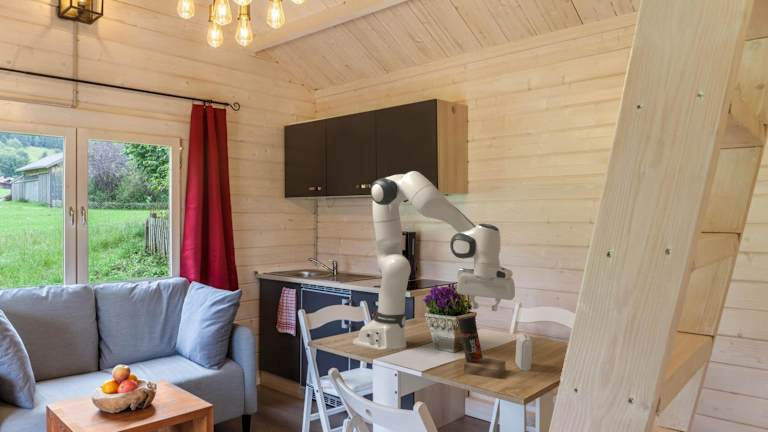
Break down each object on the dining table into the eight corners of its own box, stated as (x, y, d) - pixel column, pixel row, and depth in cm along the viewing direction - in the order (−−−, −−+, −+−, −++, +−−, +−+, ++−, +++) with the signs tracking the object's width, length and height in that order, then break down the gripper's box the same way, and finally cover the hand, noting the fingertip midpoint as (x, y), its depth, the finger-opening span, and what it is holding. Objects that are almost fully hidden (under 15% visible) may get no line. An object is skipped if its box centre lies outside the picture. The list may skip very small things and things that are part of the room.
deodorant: (471, 362, 203) (463, 319, 204) (463, 360, 208) (454, 319, 209) (485, 358, 205) (477, 316, 206) (476, 356, 211) (468, 315, 212)
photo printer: (513, 362, 219) (515, 330, 219) (525, 363, 219) (527, 330, 219) (519, 371, 209) (522, 337, 208) (531, 371, 209) (534, 337, 208)
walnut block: (463, 375, 203) (464, 364, 202) (472, 366, 214) (473, 355, 213) (497, 381, 198) (498, 370, 198) (505, 372, 209) (505, 361, 209)
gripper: (455, 268, 205) (453, 307, 206) (513, 274, 197) (511, 314, 198) (460, 266, 211) (458, 304, 212) (517, 272, 203) (515, 311, 203)
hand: (484, 309), depth 205 cm, fingers open, 5 cm apart
